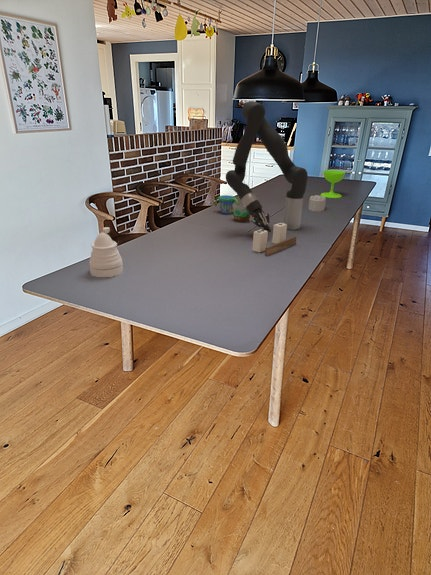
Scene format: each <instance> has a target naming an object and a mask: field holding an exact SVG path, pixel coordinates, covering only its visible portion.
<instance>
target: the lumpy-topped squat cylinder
mask: <svg viewBox="0 0 431 575" xmlns="http://www.w3.org/2000/svg"><path fill="white" fill-rule="evenodd" d="M326 200H327V197H323V196H321V195H317V194H315V195H311V196H310V197H309V200H308V210H309V211H311V212H324V211H325V207H326V203H327V202H326Z"/></svg>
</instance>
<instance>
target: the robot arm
mask: <svg viewBox="0 0 431 575" xmlns="http://www.w3.org/2000/svg"><path fill="white" fill-rule="evenodd" d="M241 114H242V117H243V119H244V120H245V121H246V125H245V128H244V132H243V135H242V136H241V138H240V140H239V142H238V143H237V145H236V147H235V152H234V154H233V158H232V164H233V165H234V169H232V170H228V171H227V172H226V173H225V181H226V183H227V185H228V186H229V187H230V188H231V189H232V190H233V192H235V193H236V194H237V197H238V198H239V199H240V201H241V202H242V204H243V205H244V207H245V208H246V210H247V212H248V213H249V215H250V216H251V217H252V219H251V220H250V221H251V223H252V224H254V225H255V226H256V227H259V228H262V229H263V230H265V231H268V234H270V233H271V232H272V229H271V227H270V226H269V224H270V214H269V213H266V212H265V211H264V210H263V205H262V204H261V203H260V201H259V199H258V198H257V196H256V194H254V192H253V191H252V189H251V188H250V186H249V185H248V184H246V183H244V181H245V178H246V169H247V163H248V160H249V156H250V153H251V149H252V146H253V143H254V141H255V139H256V136H257V137H258V138H259V139H260V141H261V143H262V144H263V146H264V147H265V149H266V150H267V152H268V153H269V155H270V156H271V157H272V159H273V160H274V162H275V163H276V164H277V165H278V168H279V169H280V170H281V172H282V174H283V176H284V178H285V180H286V181H287V182H288V183H289V184H291V189H290V190H287V191H286V196H285V206H284V207H285V208H284V218H283V224H287V230H299V229H300V228H301V221H302V220H301V219H302V210H303V203H304V202H303V201H304V195H305V193H306V190H307V183H308V171H307V170H306V169H305V168H303V167H301V166H297V165H295V163H294V162H293V160H292V159H291V157H290V156H289V150H288V146H287V144H286V142H285V140H284V138H282V136H281V135H280V134H279V133H278V131H277V130H276V129H275V128H274V127H273V126H272V125H271V124H270V123H269V122H268V120H266V118H265V116H266V108H265V107H264V105H263V104H261V103H260V102H257V101H253V100H252V101H251V100H250V101H247V102H245V103H244V104H243V106H242V109H241Z"/></svg>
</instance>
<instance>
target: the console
mask: <svg viewBox="0 0 431 575" xmlns="http://www.w3.org/2000/svg"><path fill="white" fill-rule="evenodd" d="M295 245H297V236H296V235H293V236H292V237H289V238H286V240H284V241H281V242H279V243H276V244H275V243H273V244H271V245H269V246H267V247H266V250H264V251H265V252H264V253H265V254H264V256H266V257H269V256H271V255H273V254H276V253H278V252H281V251H283V250H285V249H287V248H289V247H292V246H295Z"/></svg>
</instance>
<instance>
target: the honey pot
mask: <svg viewBox="0 0 431 575" xmlns="http://www.w3.org/2000/svg"><path fill="white" fill-rule="evenodd" d="M102 230H103V231H102V232H100V233H99V234H98V235H97V236H96V237H95V240H94V242H93V243H91V245H90V247H91V252H90V257H89V260H88V262H89V270H90V275H91V274H92V275H94V276H98V277H110V276H114V275H118V274H120V273H121V272H122V271H123V272H124V268H123V266H124V264H123V258H122V256H121V254H120V253H119V251H120V250H118V248H117V246H118V243H117V242H116V241H115V240H113V239H112V238H111V236H110V235H109V233H110V232H111V228H110V227H108V226H107V227H106V226H105V227H103V229H102ZM123 272H122V273H123ZM122 273H121V274H122ZM121 274H120V275H121ZM92 275H91V276H92ZM94 276H93V277H94ZM118 276H119V275H118Z"/></svg>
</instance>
